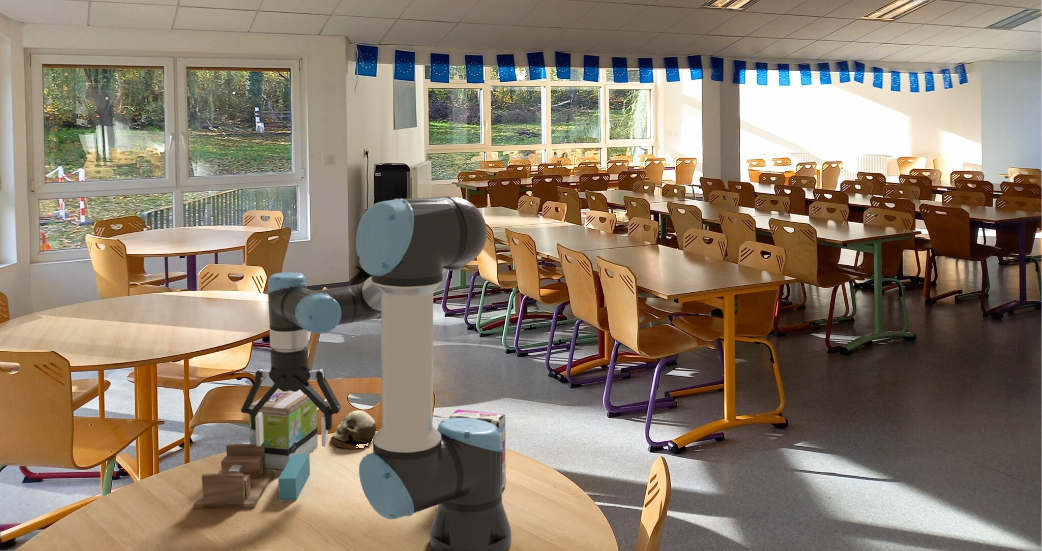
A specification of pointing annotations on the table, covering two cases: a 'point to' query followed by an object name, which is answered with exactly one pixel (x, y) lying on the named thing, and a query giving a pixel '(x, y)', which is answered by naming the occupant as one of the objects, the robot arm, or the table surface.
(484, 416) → the candy bar box
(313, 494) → the table surface
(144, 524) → the table surface
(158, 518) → the table surface
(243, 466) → the cradle
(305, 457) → the long teal rectangular block
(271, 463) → the tea box
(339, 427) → the skull
